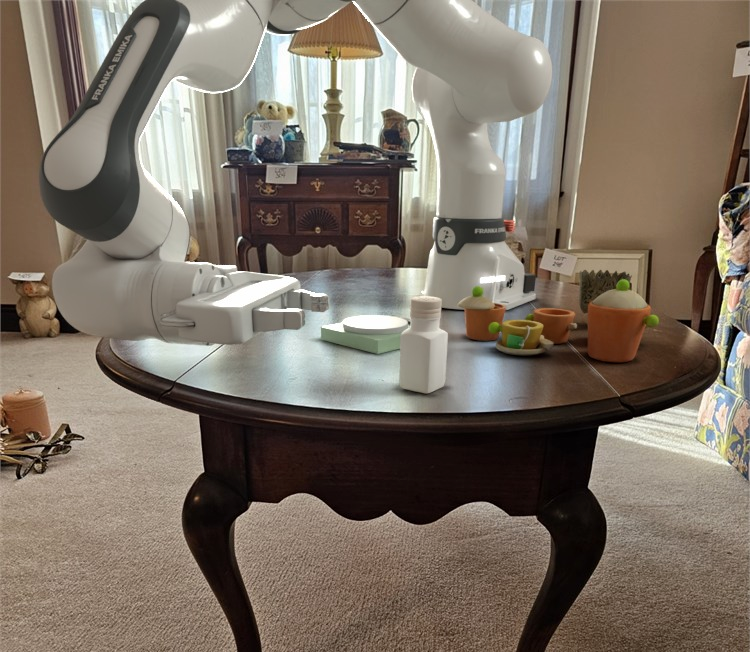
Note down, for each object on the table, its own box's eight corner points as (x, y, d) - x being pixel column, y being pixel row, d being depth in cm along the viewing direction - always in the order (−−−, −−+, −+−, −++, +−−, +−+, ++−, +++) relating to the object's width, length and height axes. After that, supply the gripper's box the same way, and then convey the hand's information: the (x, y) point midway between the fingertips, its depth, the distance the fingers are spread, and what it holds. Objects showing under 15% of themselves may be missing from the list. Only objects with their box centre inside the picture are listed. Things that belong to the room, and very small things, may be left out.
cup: (625, 333, 97) (635, 277, 94) (573, 330, 98) (582, 274, 95) (618, 323, 104) (628, 270, 100) (570, 320, 105) (578, 268, 101)
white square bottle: (396, 389, 71) (399, 299, 67) (416, 380, 74) (419, 294, 70) (428, 396, 69) (433, 303, 65) (446, 387, 72) (452, 298, 68)
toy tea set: (640, 339, 94) (654, 268, 89) (663, 368, 80) (681, 286, 76) (458, 330, 98) (463, 262, 93) (450, 356, 84) (455, 277, 80)
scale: (380, 327, 99) (380, 309, 98) (436, 339, 92) (437, 320, 91) (320, 339, 91) (320, 320, 90) (377, 354, 84) (377, 334, 83)
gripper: (144, 289, 62) (283, 296, 59) (229, 263, 80) (339, 268, 77) (153, 355, 65) (286, 365, 62) (234, 315, 83) (340, 322, 80)
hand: (316, 311), depth 70 cm, fingers open, 8 cm apart
